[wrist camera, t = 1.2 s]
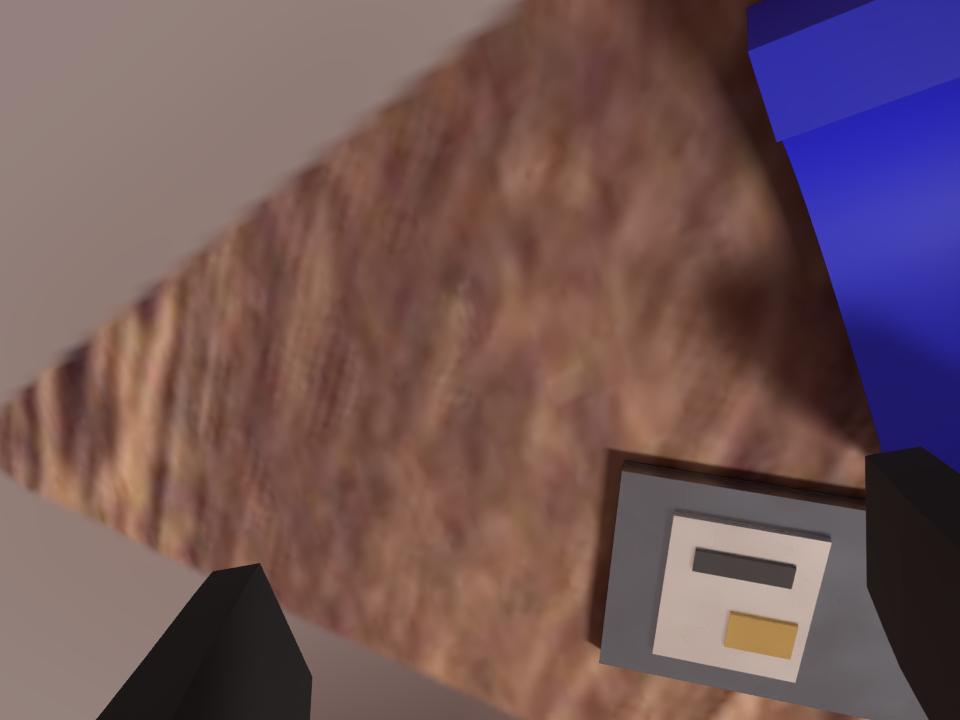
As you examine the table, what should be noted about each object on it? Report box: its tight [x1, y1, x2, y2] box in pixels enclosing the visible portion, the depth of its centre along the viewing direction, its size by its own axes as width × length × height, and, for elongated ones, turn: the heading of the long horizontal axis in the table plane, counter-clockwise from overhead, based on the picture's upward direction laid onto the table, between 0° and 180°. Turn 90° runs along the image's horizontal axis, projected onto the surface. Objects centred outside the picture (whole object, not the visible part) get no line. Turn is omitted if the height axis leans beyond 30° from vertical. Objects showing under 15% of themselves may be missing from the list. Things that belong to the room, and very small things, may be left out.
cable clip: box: [747, 0, 960, 473], centre depth 18 cm, size 12×4×6 cm, turn 25°
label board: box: [599, 461, 928, 720], centre depth 24 cm, size 15×7×1 cm, turn 89°
